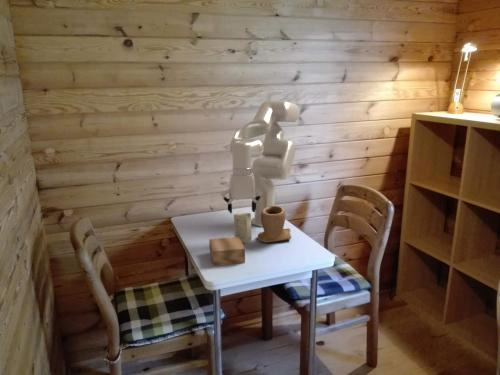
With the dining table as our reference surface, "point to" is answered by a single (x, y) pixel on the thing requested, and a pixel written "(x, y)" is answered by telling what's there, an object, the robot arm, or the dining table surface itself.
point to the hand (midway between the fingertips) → (241, 211)
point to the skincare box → (243, 226)
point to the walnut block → (227, 251)
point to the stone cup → (273, 225)
